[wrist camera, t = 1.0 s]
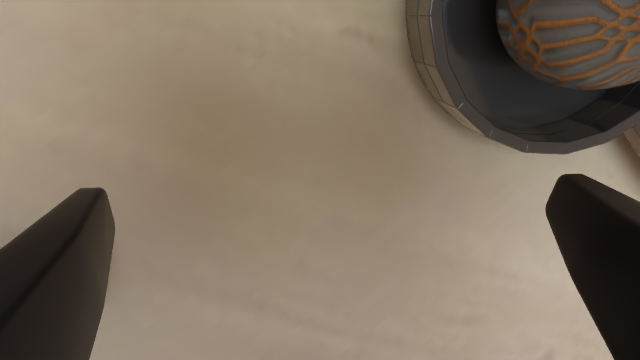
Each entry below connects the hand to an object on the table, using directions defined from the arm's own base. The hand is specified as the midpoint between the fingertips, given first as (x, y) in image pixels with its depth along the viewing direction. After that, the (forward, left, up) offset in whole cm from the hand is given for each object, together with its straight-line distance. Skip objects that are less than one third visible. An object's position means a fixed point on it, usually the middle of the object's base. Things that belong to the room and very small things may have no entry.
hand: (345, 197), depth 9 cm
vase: (+1, -13, -14) cm, 19 cm away
